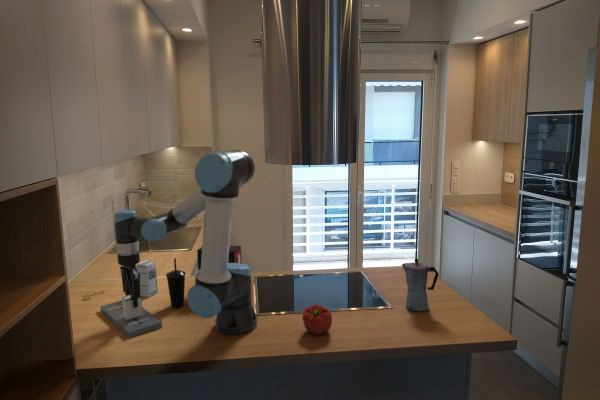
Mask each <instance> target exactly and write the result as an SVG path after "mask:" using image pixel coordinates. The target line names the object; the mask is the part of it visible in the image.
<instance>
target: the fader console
mask: <svg viewBox="0 0 600 400" xmlns="http://www.w3.org/2000/svg"><path fill="white" fill-rule="evenodd" d="M142 309H143V315H142V316H139V317H136V318H132V319H129V320H126V319H125V318H124V313H123V301H122V300H119V301H115V302H110V303H107V304H104V305H101V306H100V311H101V313H102V314H103V315H104V316H105V317H106V318H108V320H109V321H111V322H112V323H113V324H114V325H115V326H116V327H117V328H118V330H120V331H121V332H122V334H124V335H125V336H126V337H127V338H128V339H130V338H133V337H136V336H139V335H142V334H146V333H149V332H152V331H155V330H157V329H160V328H162V327H163V325H162V321H161V320H160V319H158V318H157V317H156V316H154V315H153V314H152V313H151V312H149V311H148V310H147V309H146V308H144V307H143V306H142Z"/></svg>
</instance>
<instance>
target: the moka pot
mask: <svg viewBox="0 0 600 400" xmlns="http://www.w3.org/2000/svg"><path fill="white" fill-rule="evenodd" d="M419 260H420V259H418V258H415V259H414V262H404V263H402V264H401V267H402V268H403V271H404V273H405V280H406V285H407V293H406V301H405V308H406V309H407V310H410V311H411V312H412V311H414V312H425V311H427V310H429V307H430V305H429V300H428V293H427V292H428V291H433V290H435V286H436V283H437V281H438V278H439V272H438V270H437V269H436V268H435V266H429V264H426V263H423V262H419ZM431 272H434V277H433V280H432V283H431V286H430V287H428V286H427V281H428V277H429V276H428V274H429V273H431ZM427 290H428V291H427Z"/></svg>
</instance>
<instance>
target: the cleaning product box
mask: <svg viewBox="0 0 600 400" xmlns="http://www.w3.org/2000/svg"><path fill="white" fill-rule="evenodd" d="M196 251H197V252H196V253H197V272H198V271H199V270H200V269H201V259H202V246H201V247H199V248H198V249H197V250H196ZM228 263H241V264H242V246H241V245H231V244H229V256H228Z"/></svg>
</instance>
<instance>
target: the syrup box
mask: <svg viewBox="0 0 600 400" xmlns="http://www.w3.org/2000/svg"><path fill="white" fill-rule="evenodd" d="M135 266H136V268H137V273H140V294H141V296H142V297H145V298H151V297H152V296H154V295H156V294H158V293H159V290H158V277H157V266H156V261H154V260H147V259H146V260H143V261H142V262H139V263H137V264H136V265H135Z"/></svg>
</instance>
